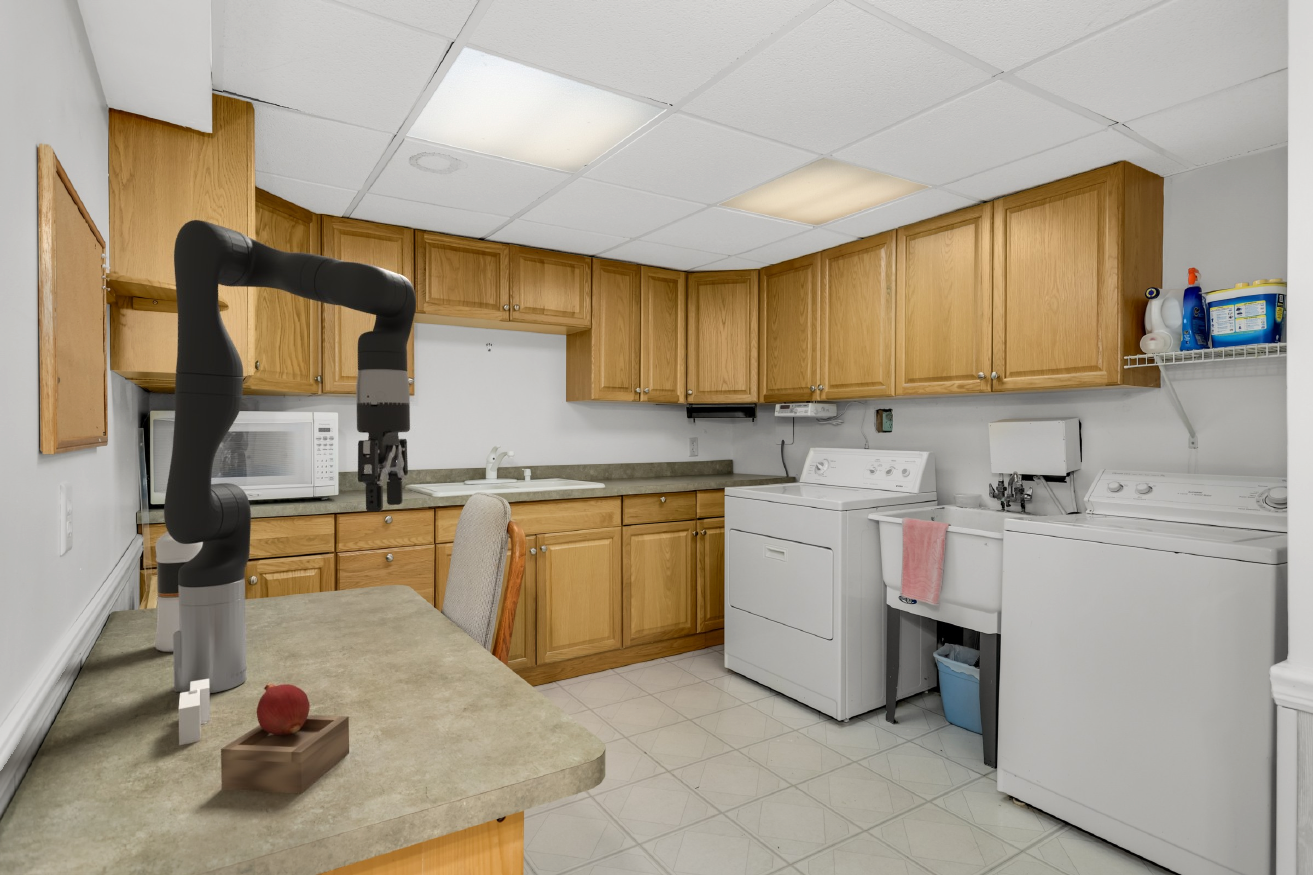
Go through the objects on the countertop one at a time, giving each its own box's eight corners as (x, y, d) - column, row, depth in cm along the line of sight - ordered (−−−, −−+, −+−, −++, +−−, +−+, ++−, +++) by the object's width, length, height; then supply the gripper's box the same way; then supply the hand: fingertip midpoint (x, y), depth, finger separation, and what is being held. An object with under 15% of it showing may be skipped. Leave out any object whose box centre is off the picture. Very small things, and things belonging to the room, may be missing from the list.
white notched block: (197, 754, 91) (197, 710, 91) (117, 751, 92) (117, 708, 92) (271, 708, 106) (270, 671, 106) (202, 706, 107) (201, 669, 107)
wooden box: (221, 792, 81) (220, 748, 81) (277, 753, 91) (276, 713, 91) (301, 796, 80) (301, 752, 80) (349, 756, 90) (348, 716, 90)
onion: (276, 757, 85) (249, 710, 89) (322, 729, 89) (295, 685, 93) (268, 733, 82) (240, 685, 85) (317, 704, 85) (288, 660, 89)
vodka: (170, 656, 129) (167, 496, 129) (144, 648, 134) (141, 494, 133) (221, 642, 137) (218, 492, 137) (195, 636, 142) (193, 490, 141)
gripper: (375, 403, 112) (377, 503, 112) (338, 399, 97) (340, 514, 98) (422, 402, 112) (424, 502, 112) (391, 399, 98) (393, 513, 98)
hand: (385, 507), depth 105 cm, fingers open, 8 cm apart
